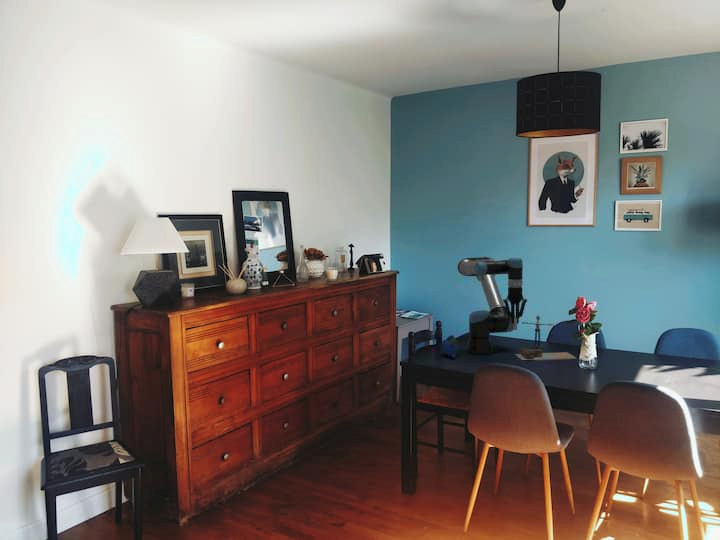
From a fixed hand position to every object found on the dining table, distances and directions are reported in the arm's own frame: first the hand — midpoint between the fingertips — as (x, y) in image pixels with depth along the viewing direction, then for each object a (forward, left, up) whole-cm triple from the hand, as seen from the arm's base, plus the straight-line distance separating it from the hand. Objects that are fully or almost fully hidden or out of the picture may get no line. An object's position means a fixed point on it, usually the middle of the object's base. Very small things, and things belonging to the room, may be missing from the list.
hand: (514, 329), depth 308 cm
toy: (-34, +10, -16) cm, 39 cm away
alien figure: (+21, +21, -16) cm, 34 cm away
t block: (+10, 0, -16) cm, 18 cm away
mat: (+17, 0, -16) cm, 23 cm away
